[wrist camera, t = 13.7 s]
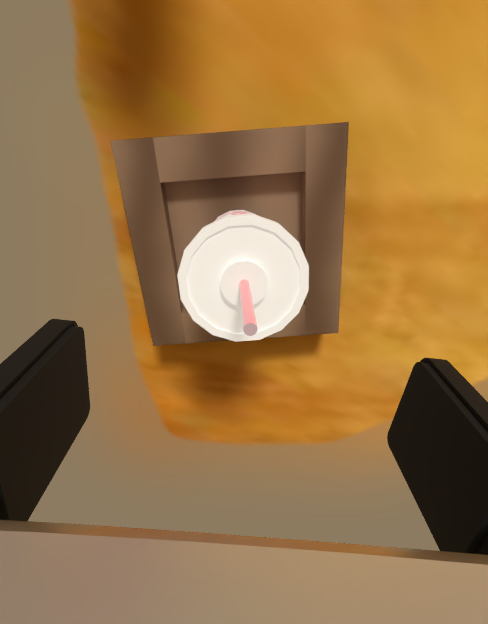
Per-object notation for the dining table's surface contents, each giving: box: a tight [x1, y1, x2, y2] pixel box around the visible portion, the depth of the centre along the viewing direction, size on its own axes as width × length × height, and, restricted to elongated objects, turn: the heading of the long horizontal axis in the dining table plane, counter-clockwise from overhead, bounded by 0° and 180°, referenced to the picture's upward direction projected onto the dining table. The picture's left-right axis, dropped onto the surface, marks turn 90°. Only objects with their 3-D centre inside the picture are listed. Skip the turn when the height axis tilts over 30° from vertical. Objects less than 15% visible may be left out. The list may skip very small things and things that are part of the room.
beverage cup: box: [177, 210, 309, 342], centre depth 18 cm, size 6×6×14 cm
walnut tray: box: [111, 122, 349, 346], centre depth 25 cm, size 14×14×4 cm
